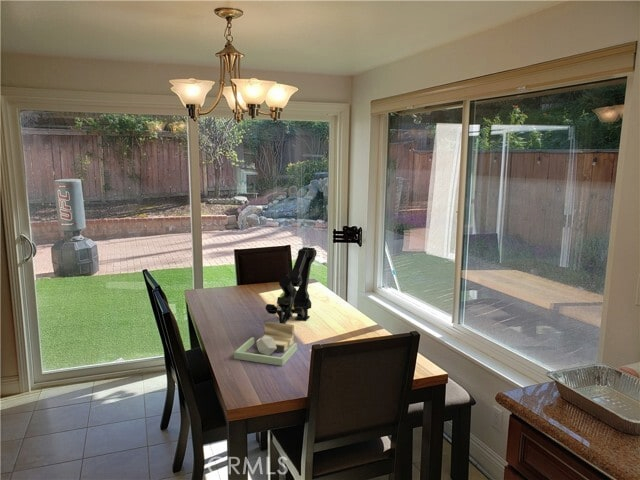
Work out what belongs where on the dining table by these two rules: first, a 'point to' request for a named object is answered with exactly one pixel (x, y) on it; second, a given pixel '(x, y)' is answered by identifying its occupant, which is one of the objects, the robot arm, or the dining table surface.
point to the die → (266, 345)
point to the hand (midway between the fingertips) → (280, 326)
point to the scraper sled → (279, 335)
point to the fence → (243, 355)
